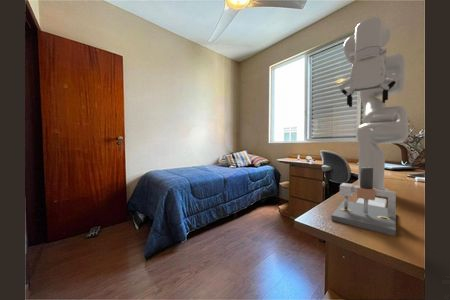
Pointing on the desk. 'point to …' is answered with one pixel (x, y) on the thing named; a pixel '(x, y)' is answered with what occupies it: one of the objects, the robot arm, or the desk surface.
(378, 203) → the hard drive
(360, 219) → the bolt plate
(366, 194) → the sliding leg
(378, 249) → the desk surface
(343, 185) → the light grey bracket
